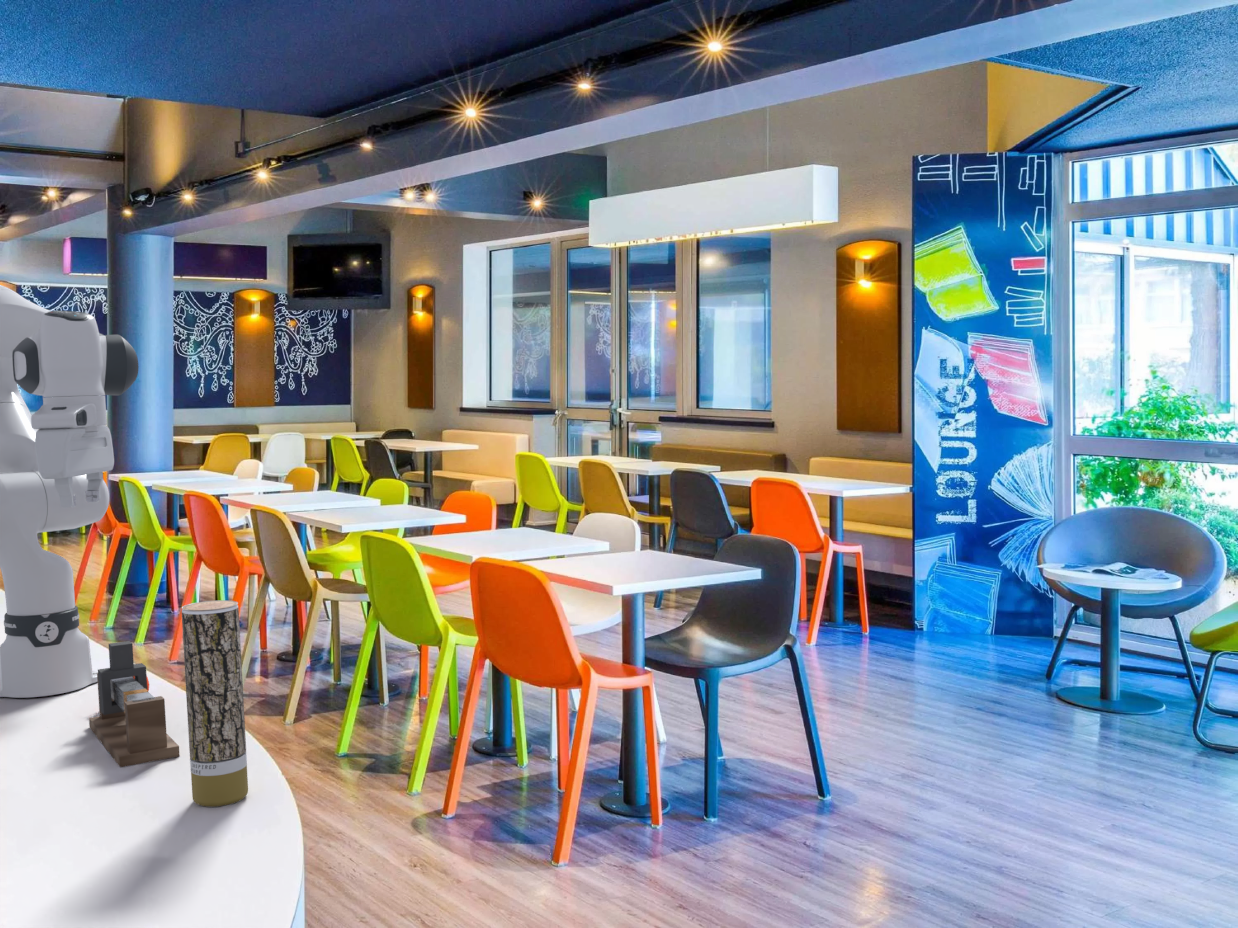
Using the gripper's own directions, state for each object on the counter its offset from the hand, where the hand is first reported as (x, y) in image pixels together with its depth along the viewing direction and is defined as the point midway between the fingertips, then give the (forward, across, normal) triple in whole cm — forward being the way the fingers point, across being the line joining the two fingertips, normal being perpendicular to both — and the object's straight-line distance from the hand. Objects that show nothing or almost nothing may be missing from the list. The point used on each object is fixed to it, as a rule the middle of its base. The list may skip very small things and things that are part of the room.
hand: (81, 504), depth 187 cm
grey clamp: (+31, +5, +6) cm, 32 cm away
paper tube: (+36, +37, +30) cm, 60 cm away
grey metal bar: (+30, +9, +9) cm, 32 cm away
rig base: (+35, +9, +9) cm, 37 cm away
